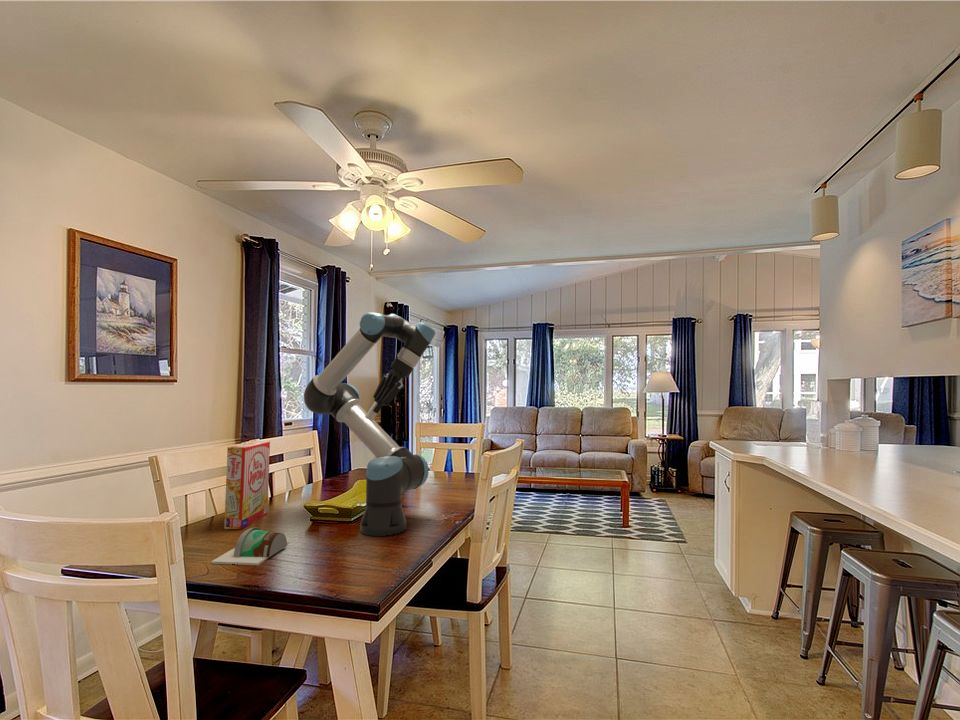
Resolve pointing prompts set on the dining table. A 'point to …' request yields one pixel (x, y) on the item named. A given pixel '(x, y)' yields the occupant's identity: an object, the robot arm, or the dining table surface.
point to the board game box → (246, 484)
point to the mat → (238, 559)
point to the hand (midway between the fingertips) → (368, 419)
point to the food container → (259, 543)
